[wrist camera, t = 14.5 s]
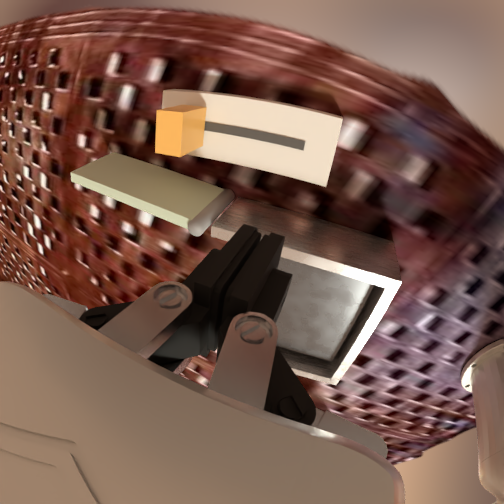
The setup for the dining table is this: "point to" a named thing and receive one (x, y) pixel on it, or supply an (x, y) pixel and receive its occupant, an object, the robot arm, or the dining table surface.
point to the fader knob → (179, 129)
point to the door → (156, 190)
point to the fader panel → (264, 133)
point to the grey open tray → (322, 285)
